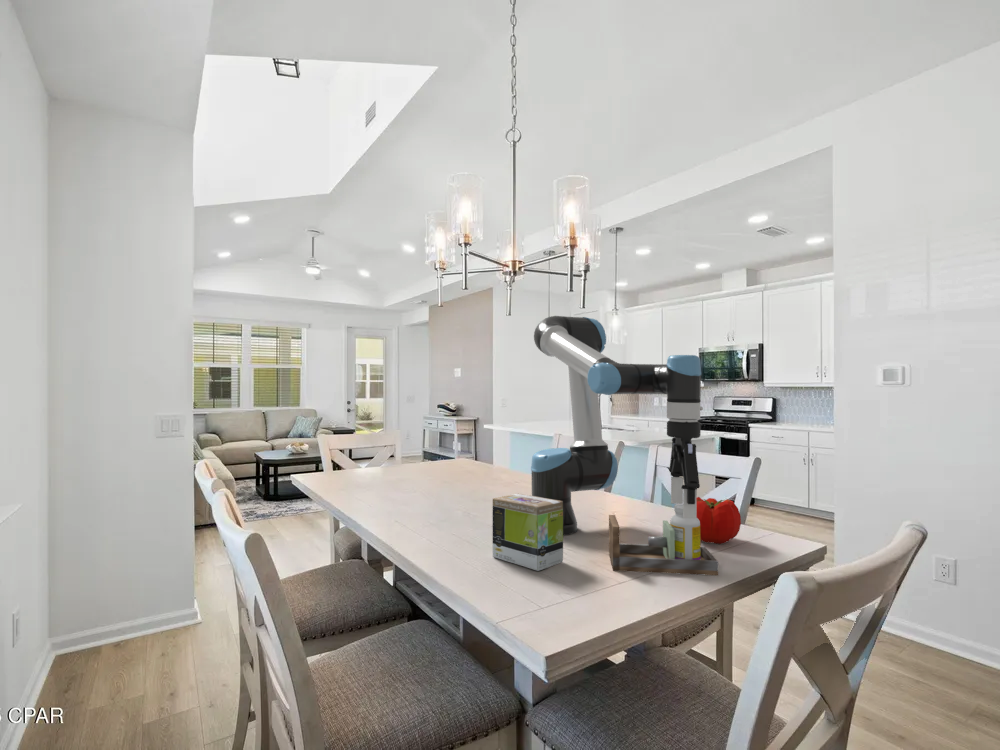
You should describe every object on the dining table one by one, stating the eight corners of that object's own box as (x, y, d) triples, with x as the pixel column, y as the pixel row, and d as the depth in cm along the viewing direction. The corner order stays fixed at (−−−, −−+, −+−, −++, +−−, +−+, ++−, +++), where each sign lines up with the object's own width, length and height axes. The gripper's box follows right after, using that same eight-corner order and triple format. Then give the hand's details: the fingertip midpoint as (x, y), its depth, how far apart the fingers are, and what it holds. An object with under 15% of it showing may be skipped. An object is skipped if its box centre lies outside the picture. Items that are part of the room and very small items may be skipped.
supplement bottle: (697, 557, 124) (697, 503, 125) (703, 567, 118) (702, 510, 118) (668, 555, 126) (668, 502, 126) (672, 565, 119) (672, 508, 119)
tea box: (564, 562, 124) (564, 500, 125) (537, 572, 117) (537, 507, 117) (518, 548, 135) (518, 491, 135) (490, 557, 128) (490, 497, 128)
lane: (612, 570, 118) (612, 526, 119) (609, 555, 129) (608, 514, 130) (718, 575, 115) (717, 530, 116) (705, 559, 126) (704, 517, 127)
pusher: (652, 564, 118) (651, 529, 119) (646, 552, 127) (646, 520, 127) (674, 565, 118) (674, 530, 118) (667, 553, 126) (667, 520, 127)
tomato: (747, 540, 142) (747, 497, 142) (726, 552, 132) (725, 505, 132) (700, 531, 151) (699, 490, 151) (677, 541, 141) (676, 498, 142)
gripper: (715, 425, 110) (714, 525, 110) (687, 416, 134) (687, 498, 134) (678, 424, 111) (677, 524, 110) (658, 416, 135) (657, 497, 135)
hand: (682, 510), depth 122 cm, fingers open, 13 cm apart
